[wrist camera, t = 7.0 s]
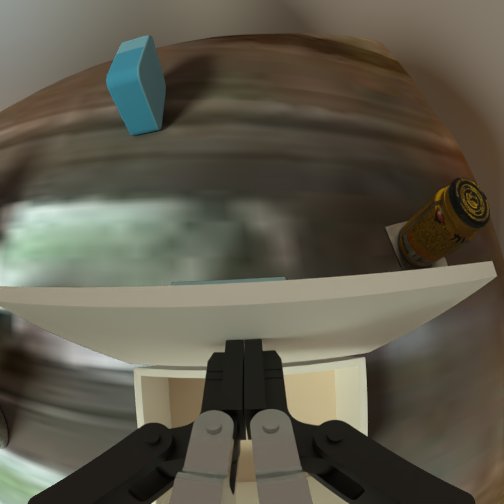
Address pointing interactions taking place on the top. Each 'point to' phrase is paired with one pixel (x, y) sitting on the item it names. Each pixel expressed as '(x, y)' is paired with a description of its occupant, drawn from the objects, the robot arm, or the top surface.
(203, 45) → the top surface
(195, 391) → the box
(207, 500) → the robot arm
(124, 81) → the data package
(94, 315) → the lid
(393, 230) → the condiment
